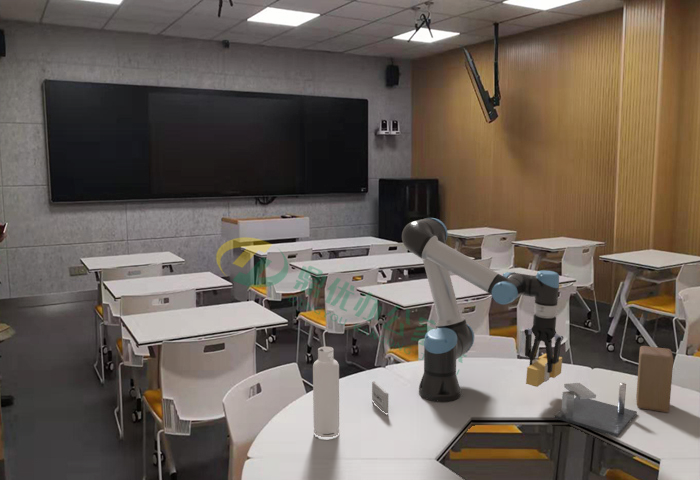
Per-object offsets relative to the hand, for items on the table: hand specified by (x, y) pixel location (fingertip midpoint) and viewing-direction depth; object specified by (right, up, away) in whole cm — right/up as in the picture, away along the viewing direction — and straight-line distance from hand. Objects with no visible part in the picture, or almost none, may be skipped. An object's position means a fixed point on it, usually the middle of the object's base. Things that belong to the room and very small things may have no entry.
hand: (539, 378), depth 208 cm
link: (+1, 0, +2) cm, 2 cm away
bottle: (-75, -12, -23) cm, 79 cm away
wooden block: (+38, -9, -3) cm, 40 cm away
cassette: (-57, -10, -4) cm, 58 cm away
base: (+15, -10, -11) cm, 21 cm away
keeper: (+7, -10, -13) cm, 18 cm away
